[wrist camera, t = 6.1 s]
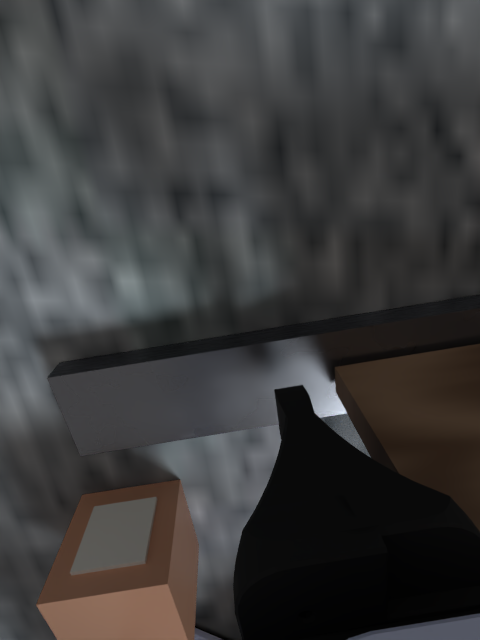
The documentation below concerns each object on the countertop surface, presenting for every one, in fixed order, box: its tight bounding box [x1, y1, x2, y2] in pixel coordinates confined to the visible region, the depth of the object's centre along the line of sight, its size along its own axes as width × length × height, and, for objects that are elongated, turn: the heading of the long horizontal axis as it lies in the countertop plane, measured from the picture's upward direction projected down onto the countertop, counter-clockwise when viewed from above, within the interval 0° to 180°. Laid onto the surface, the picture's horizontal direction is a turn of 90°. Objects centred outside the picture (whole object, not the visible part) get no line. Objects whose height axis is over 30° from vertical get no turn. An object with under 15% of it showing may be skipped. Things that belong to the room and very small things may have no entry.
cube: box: [36, 479, 199, 640], centre depth 16 cm, size 5×5×5 cm
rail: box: [47, 295, 480, 456], centre depth 15 cm, size 24×4×1 cm, turn 98°
